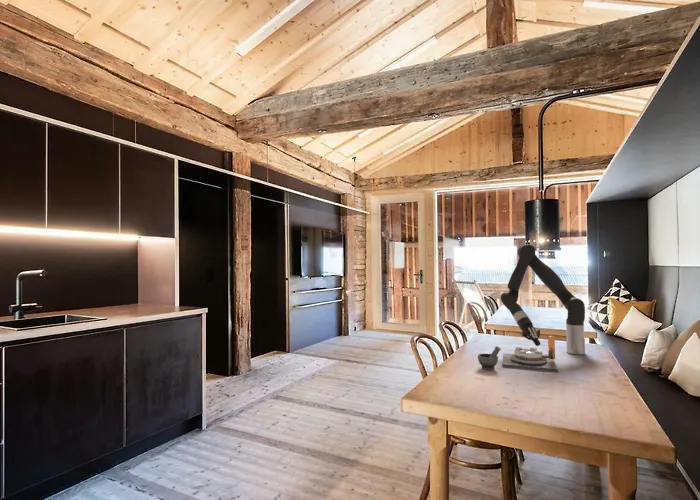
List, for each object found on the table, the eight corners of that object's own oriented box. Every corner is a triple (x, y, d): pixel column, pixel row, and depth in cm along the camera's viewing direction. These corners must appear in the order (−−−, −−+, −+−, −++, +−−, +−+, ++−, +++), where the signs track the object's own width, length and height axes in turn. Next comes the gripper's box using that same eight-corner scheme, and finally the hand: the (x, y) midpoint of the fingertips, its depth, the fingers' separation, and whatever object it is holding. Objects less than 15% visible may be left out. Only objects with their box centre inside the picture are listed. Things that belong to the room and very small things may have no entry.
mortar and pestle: (478, 370, 198) (478, 347, 198) (477, 366, 207) (477, 343, 207) (501, 372, 195) (501, 348, 195) (500, 367, 204) (499, 344, 204)
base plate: (553, 359, 219) (552, 354, 219) (557, 372, 195) (557, 366, 195) (503, 355, 229) (503, 350, 229) (502, 366, 205) (502, 361, 205)
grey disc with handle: (518, 360, 206) (518, 337, 207) (511, 354, 220) (511, 333, 220) (559, 361, 203) (559, 338, 203) (550, 355, 217) (549, 333, 217)
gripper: (516, 317, 227) (532, 342, 215) (534, 315, 231) (551, 340, 219) (510, 324, 232) (525, 349, 220) (528, 323, 236) (544, 348, 224)
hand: (538, 345), depth 220 cm, fingers closed
